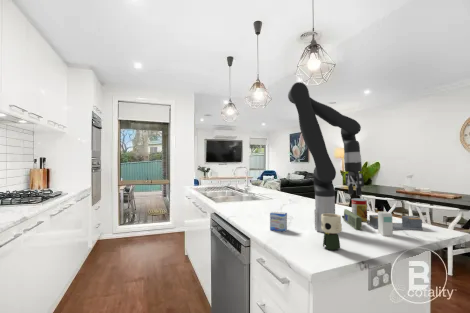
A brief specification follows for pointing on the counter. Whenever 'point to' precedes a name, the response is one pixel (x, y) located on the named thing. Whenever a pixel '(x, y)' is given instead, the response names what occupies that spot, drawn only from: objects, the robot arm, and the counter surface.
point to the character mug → (331, 230)
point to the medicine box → (278, 221)
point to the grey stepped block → (406, 224)
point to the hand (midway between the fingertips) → (355, 194)
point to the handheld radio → (352, 219)
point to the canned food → (360, 208)
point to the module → (385, 224)
